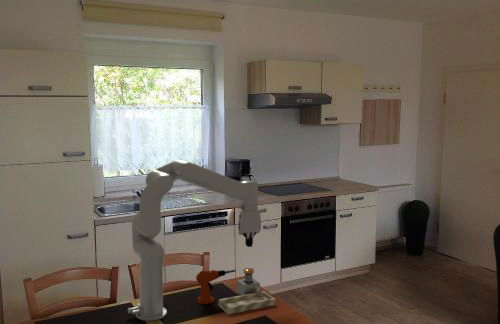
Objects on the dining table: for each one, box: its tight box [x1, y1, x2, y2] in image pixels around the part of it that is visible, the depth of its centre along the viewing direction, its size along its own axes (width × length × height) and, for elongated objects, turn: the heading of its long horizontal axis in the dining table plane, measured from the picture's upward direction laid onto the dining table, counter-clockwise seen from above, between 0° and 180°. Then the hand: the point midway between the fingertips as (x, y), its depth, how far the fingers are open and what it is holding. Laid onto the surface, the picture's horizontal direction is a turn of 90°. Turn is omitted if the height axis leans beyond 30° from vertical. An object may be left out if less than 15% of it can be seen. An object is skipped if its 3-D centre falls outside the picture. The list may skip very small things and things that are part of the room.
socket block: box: [236, 277, 261, 296], centre depth 215 cm, size 8×8×6 cm
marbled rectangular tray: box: [218, 291, 276, 315], centre depth 202 cm, size 23×10×3 cm, turn 117°
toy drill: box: [195, 269, 236, 305], centre depth 206 cm, size 5×19×15 cm, turn 105°
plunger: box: [242, 267, 255, 284], centre depth 214 cm, size 5×5×9 cm
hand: (249, 246), depth 213 cm, fingers closed
